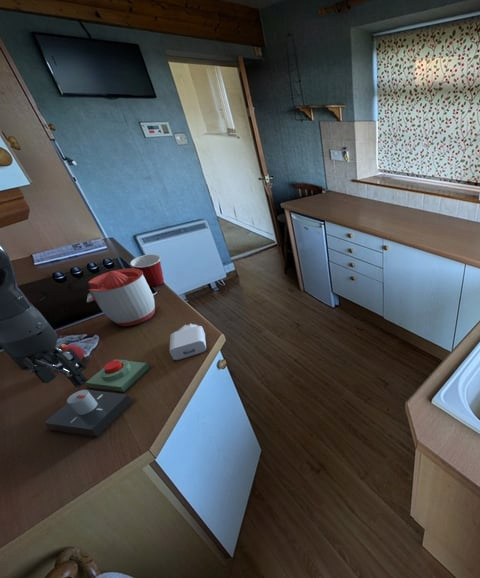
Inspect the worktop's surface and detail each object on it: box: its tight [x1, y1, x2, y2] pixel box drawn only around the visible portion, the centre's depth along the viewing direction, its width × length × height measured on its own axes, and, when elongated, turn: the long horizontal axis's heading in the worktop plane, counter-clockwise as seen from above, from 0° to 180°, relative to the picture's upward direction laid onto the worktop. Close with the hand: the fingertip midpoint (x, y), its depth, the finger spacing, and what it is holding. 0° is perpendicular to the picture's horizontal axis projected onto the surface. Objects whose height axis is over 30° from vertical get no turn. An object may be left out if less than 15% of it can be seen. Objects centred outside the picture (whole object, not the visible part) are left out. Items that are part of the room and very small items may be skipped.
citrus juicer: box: [86, 267, 156, 327], centre depth 105 cm, size 16×17×20 cm
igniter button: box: [103, 359, 123, 374], centre depth 84 cm, size 4×4×2 cm
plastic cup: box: [129, 253, 165, 287], centre depth 128 cm, size 11×11×12 cm
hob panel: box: [43, 389, 133, 438], centre depth 75 cm, size 13×10×3 cm
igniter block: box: [85, 358, 150, 393], centre depth 85 cm, size 11×9×4 cm
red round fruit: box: [59, 343, 85, 365], centre depth 88 cm, size 6×6×8 cm
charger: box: [169, 322, 207, 361], centre depth 98 cm, size 5×9×15 cm
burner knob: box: [66, 389, 98, 415], centre depth 73 cm, size 4×4×5 cm
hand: (66, 382), depth 69 cm, fingers open, 8 cm apart
